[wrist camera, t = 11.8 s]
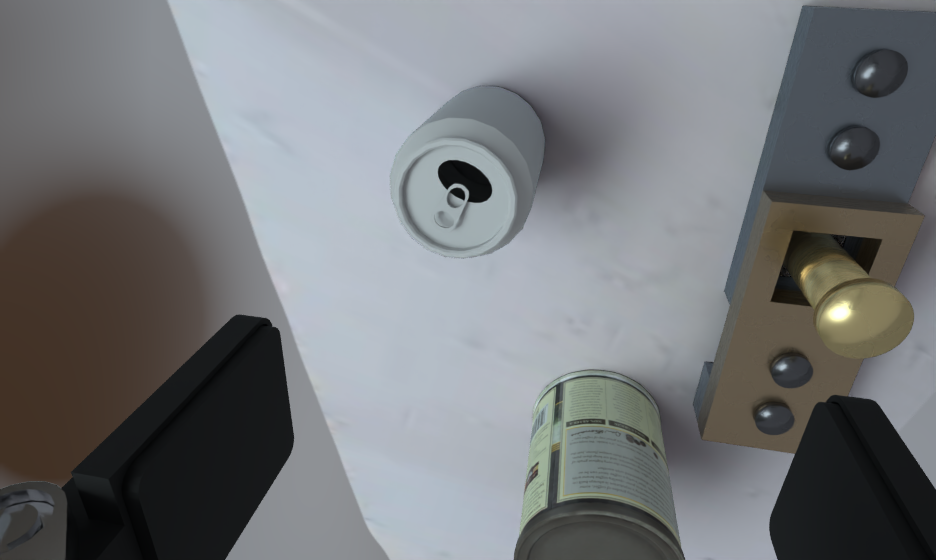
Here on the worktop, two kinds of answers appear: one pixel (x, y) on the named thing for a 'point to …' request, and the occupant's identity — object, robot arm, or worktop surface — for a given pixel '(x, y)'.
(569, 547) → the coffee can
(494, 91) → the can
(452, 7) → the worktop surface
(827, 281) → the pin
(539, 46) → the worktop surface
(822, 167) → the peg hole board
